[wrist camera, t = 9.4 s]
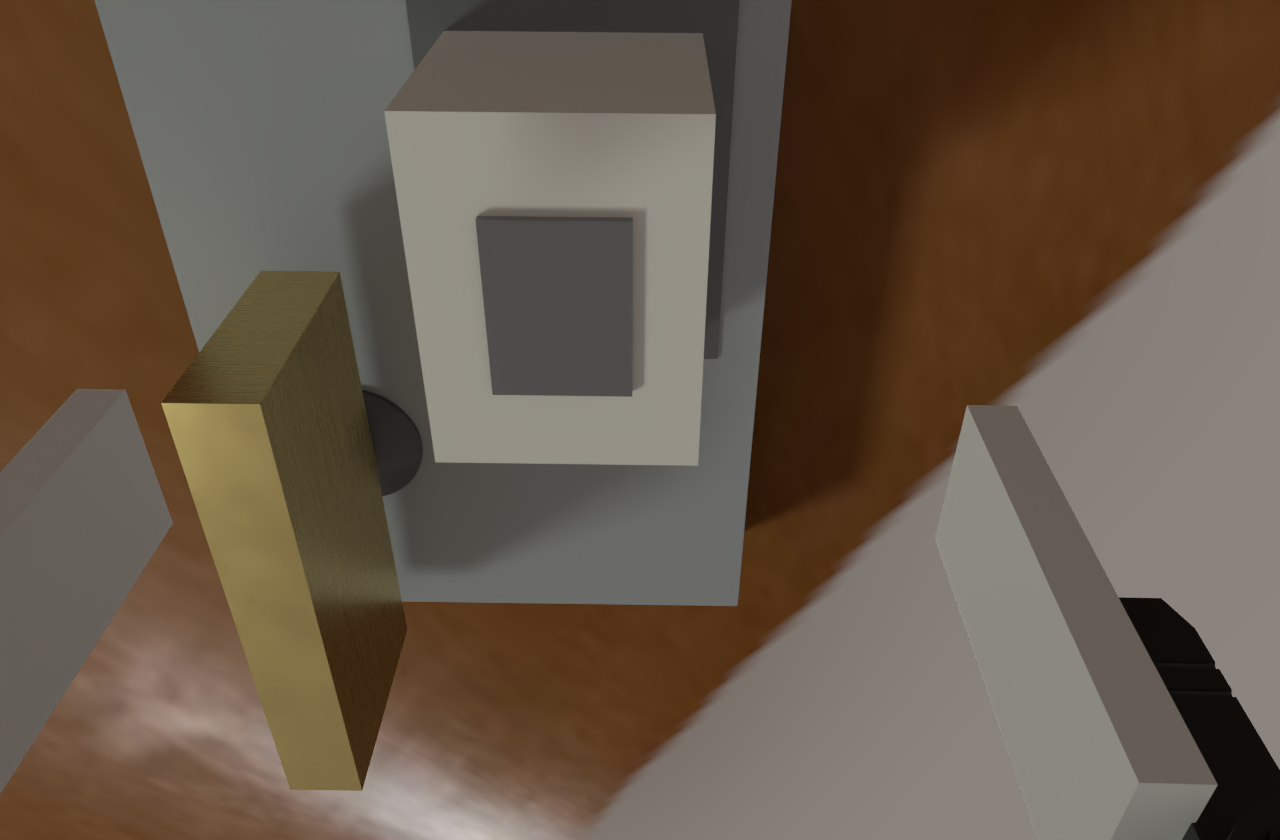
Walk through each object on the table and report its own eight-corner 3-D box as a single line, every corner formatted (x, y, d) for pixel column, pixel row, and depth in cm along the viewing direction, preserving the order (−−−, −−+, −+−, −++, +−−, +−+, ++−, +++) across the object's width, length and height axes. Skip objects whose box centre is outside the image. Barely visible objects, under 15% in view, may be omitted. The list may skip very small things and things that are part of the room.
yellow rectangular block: (414, 602, 33) (362, 790, 27) (356, 601, 33) (290, 789, 27) (351, 251, 25) (260, 404, 20) (275, 250, 25) (161, 403, 20)
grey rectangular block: (475, 331, 27) (433, 467, 22) (443, 30, 22) (381, 114, 17) (690, 334, 27) (698, 471, 22) (702, 33, 22) (716, 118, 17)
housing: (303, 531, 36) (270, 603, 33) (156, -39, 25) (87, -9, 22) (730, 537, 36) (737, 610, 33) (776, -33, 25) (792, -2, 22)
